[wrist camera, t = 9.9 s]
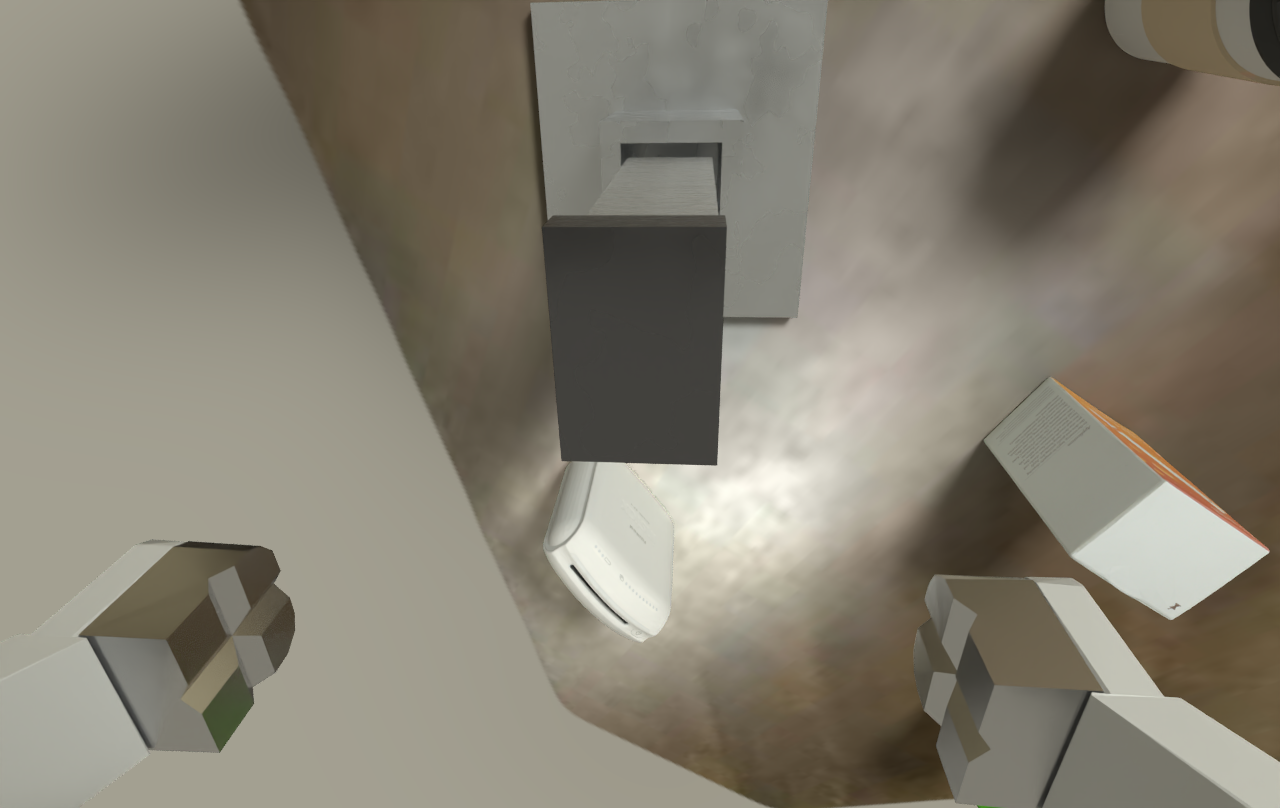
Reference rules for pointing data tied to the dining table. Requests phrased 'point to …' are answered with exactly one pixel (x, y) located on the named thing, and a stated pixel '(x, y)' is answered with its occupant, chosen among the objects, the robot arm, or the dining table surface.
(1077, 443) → the small box
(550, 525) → the photo printer
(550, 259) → the column
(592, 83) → the stand base
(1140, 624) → the dining table surface
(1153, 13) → the coffee cup
